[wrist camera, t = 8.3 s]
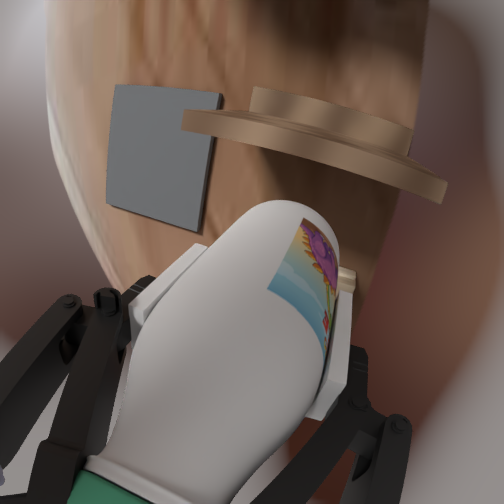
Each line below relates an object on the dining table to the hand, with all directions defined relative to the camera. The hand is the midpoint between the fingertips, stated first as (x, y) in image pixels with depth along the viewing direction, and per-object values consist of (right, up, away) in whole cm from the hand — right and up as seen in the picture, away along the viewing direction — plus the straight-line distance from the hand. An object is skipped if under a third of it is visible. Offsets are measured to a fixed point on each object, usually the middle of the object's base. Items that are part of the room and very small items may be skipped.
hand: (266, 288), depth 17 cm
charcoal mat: (-13, +15, +21) cm, 30 cm away
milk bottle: (+2, +2, +5) cm, 5 cm away
